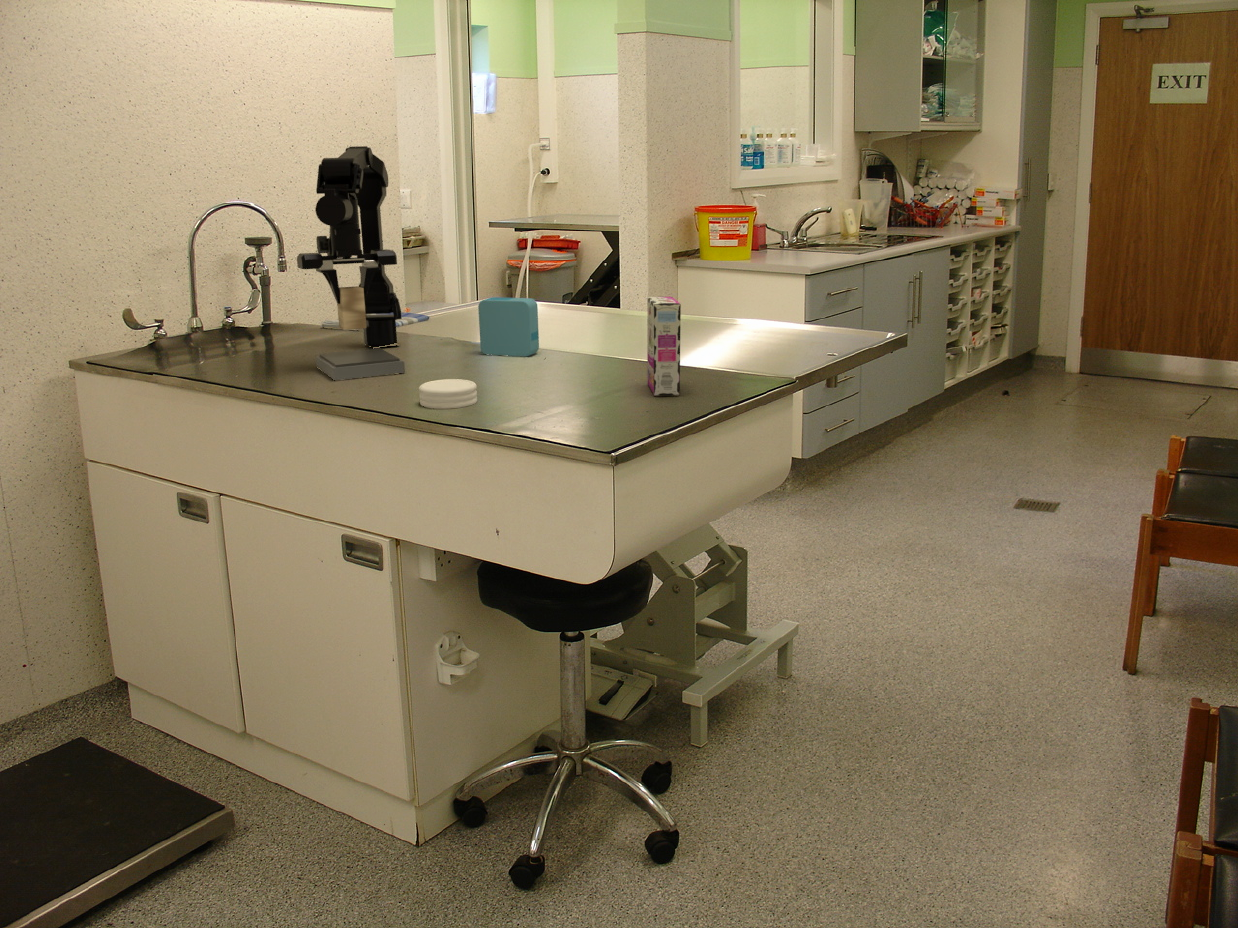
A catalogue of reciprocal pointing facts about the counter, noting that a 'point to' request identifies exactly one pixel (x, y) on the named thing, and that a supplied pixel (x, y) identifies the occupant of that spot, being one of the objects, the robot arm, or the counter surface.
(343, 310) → the oak block
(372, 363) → the plate
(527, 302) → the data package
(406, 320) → the dish towel
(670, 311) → the candy bar box
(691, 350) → the counter surface
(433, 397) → the coaster
